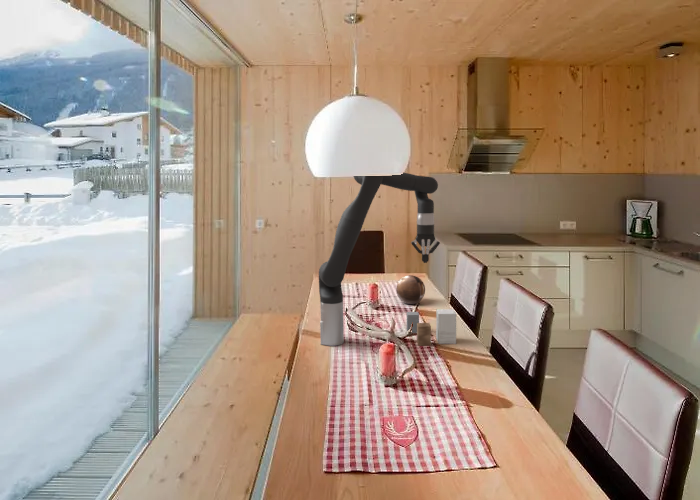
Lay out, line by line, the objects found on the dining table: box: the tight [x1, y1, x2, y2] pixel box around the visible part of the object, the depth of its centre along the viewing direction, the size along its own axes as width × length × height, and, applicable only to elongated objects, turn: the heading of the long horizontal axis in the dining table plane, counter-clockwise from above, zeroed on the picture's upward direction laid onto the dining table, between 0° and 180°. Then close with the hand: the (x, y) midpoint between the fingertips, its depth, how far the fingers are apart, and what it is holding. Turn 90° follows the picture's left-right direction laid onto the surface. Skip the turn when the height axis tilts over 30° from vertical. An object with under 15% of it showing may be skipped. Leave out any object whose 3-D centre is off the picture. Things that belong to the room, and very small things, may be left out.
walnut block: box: [416, 322, 432, 347], centre depth 213 cm, size 5×5×8 cm
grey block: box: [406, 311, 420, 334], centre depth 230 cm, size 5×5×8 cm
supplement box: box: [435, 308, 457, 345], centre depth 215 cm, size 7×7×13 cm
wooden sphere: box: [395, 274, 426, 305], centre depth 277 cm, size 15×15×15 cm
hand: (425, 262), depth 233 cm, fingers closed
